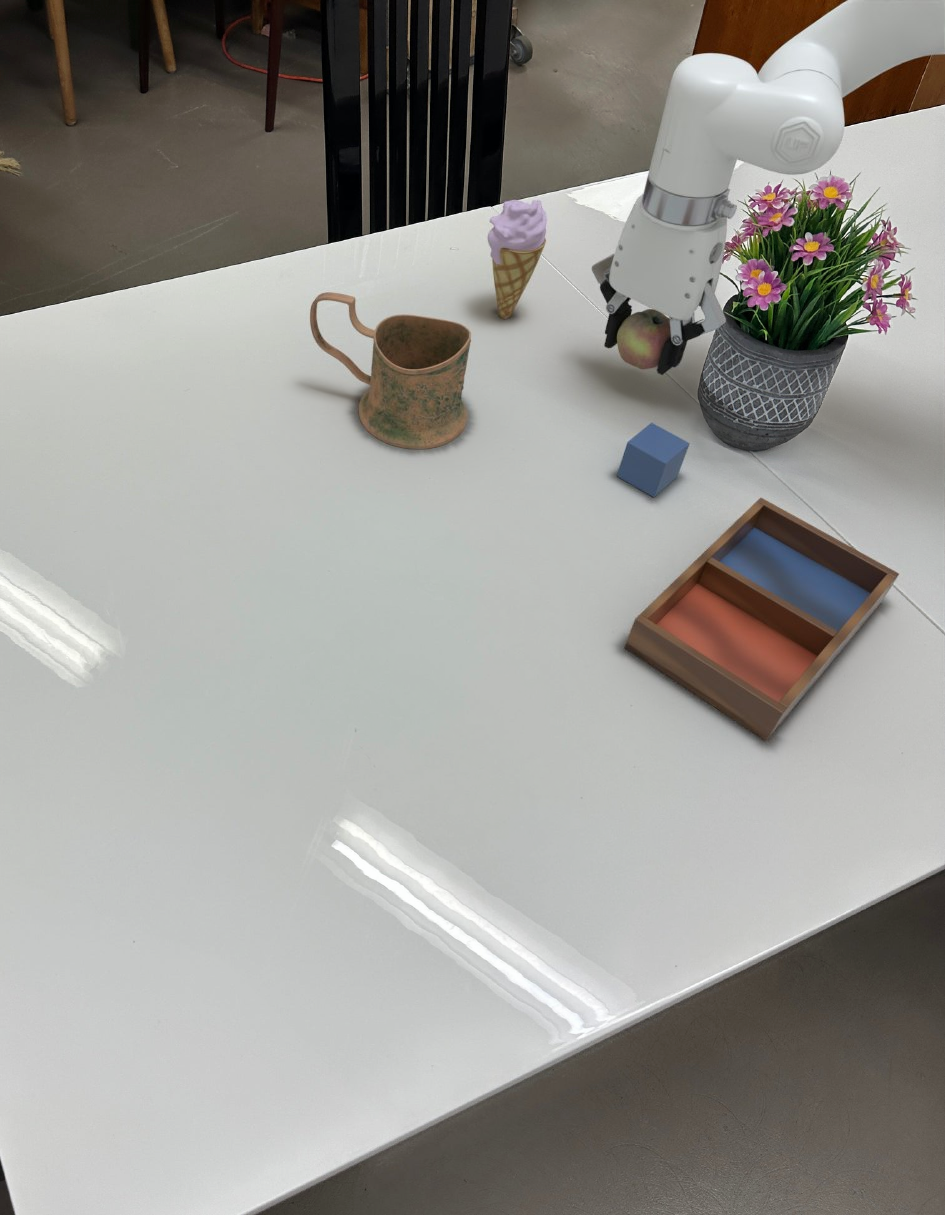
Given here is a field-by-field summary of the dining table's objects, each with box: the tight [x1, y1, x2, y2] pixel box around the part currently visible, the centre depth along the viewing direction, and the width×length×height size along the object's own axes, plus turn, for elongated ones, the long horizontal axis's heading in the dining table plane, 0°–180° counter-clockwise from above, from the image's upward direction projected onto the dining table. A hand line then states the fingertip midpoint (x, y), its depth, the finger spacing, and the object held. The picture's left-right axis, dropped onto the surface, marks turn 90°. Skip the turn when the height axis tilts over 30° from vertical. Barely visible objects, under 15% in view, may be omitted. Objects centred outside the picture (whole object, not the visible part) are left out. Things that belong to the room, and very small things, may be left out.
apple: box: [616, 308, 671, 370], centre depth 116 cm, size 6×8×6 cm
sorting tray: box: [623, 497, 900, 742], centre depth 96 cm, size 22×14×4 cm, turn 137°
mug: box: [309, 291, 472, 450], centre depth 112 cm, size 12×18×12 cm, turn 70°
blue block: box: [616, 422, 691, 498], centre depth 109 cm, size 4×4×4 cm
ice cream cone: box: [487, 199, 548, 320], centre depth 123 cm, size 7×6×15 cm
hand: (640, 354), depth 117 cm, fingers closed on apple, 6 cm apart
